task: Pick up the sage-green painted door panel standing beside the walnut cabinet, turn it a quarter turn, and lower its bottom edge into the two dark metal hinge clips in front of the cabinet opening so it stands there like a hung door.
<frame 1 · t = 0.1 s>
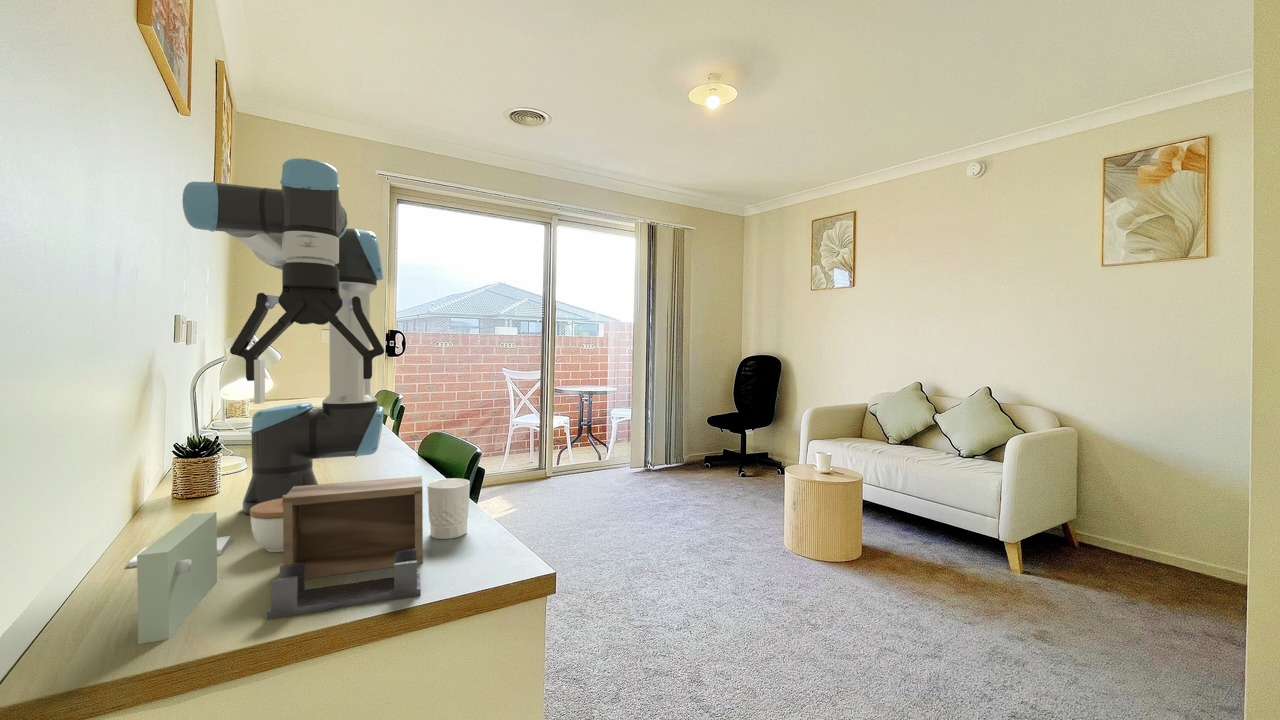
hand: (312, 401, 84), 28 cm above the table, fingers open, 13 cm apart
external hard drive: (183, 557, 96), on the table
white cup: (448, 534, 107), on the table
cabinet: (358, 563, 92), on the table
clip rail: (349, 597, 79), on the table
door panel: (182, 610, 75), on the table
lidded jar: (285, 547, 99), on the table
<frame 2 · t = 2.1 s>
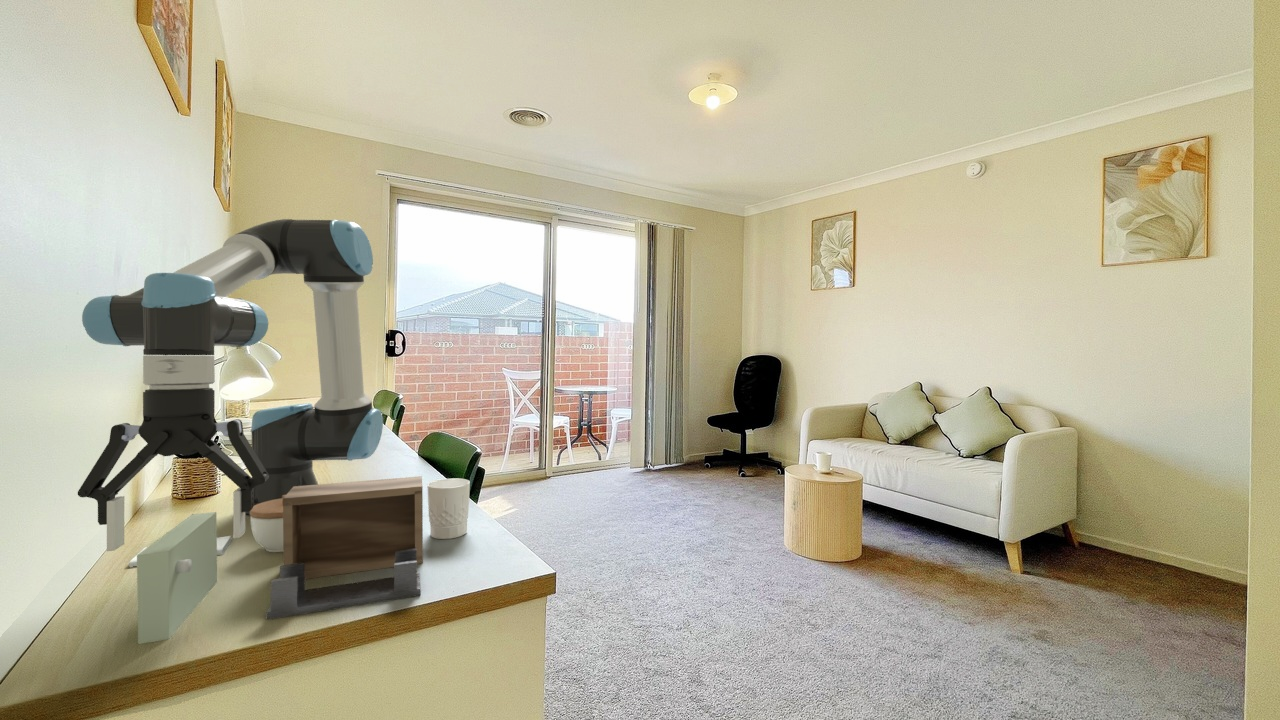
hand: (179, 541, 75), 10 cm above the table, fingers open, 13 cm apart
nothing on the table moved.
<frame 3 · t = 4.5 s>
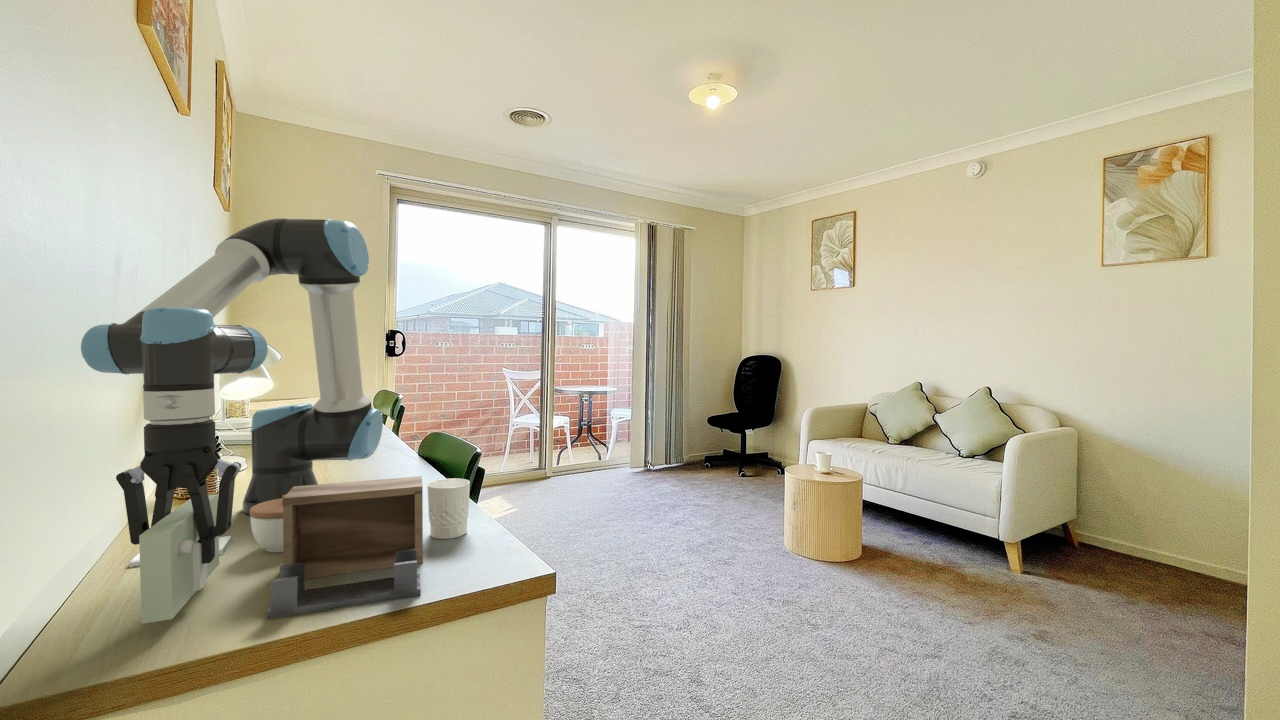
hand: (183, 588, 75), 3 cm above the table, fingers closed on door panel, 3 cm apart
door panel: (185, 590, 76), point 2 cm above the table, touching gripper
everything else where it was.
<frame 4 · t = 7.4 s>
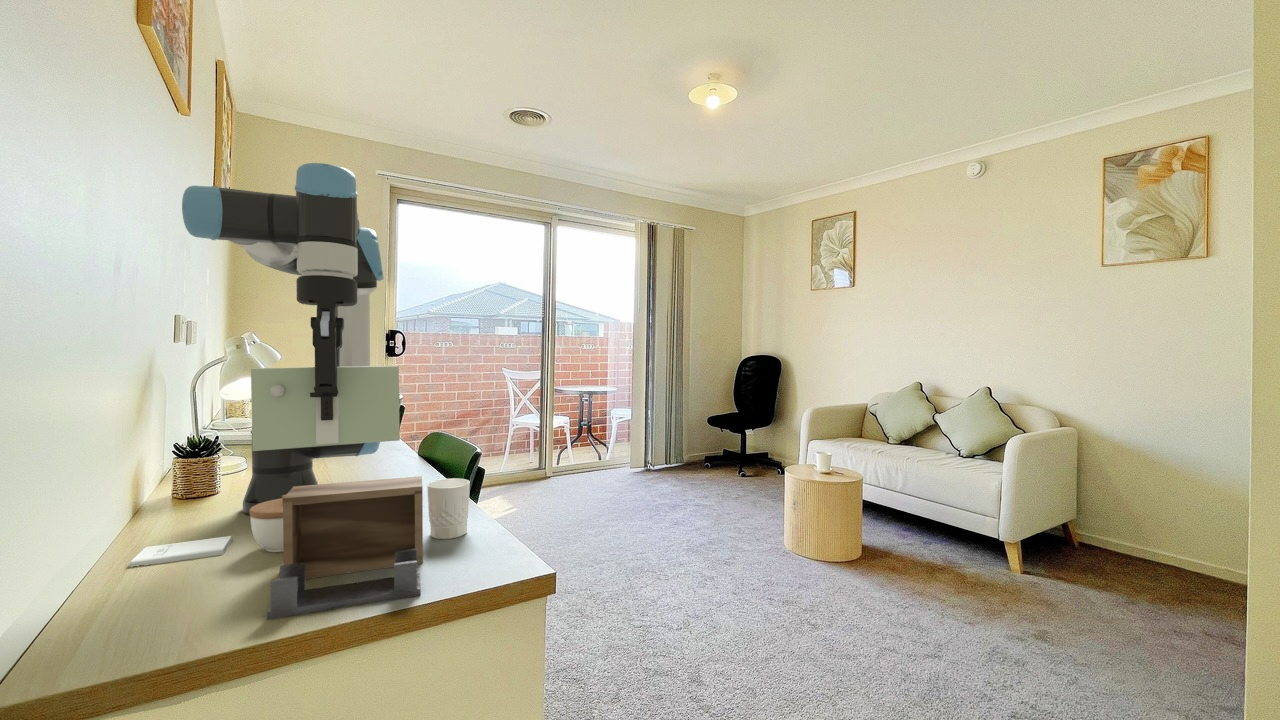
hand: (328, 441, 78), 23 cm above the table, fingers closed on door panel, 3 cm apart
door panel: (330, 443, 78), point 22 cm above the table, touching gripper
everything else where it was.
when the fingers open (2 cm above the table, at t = 10.8 s): door panel stays where it is, resting on clip rail.
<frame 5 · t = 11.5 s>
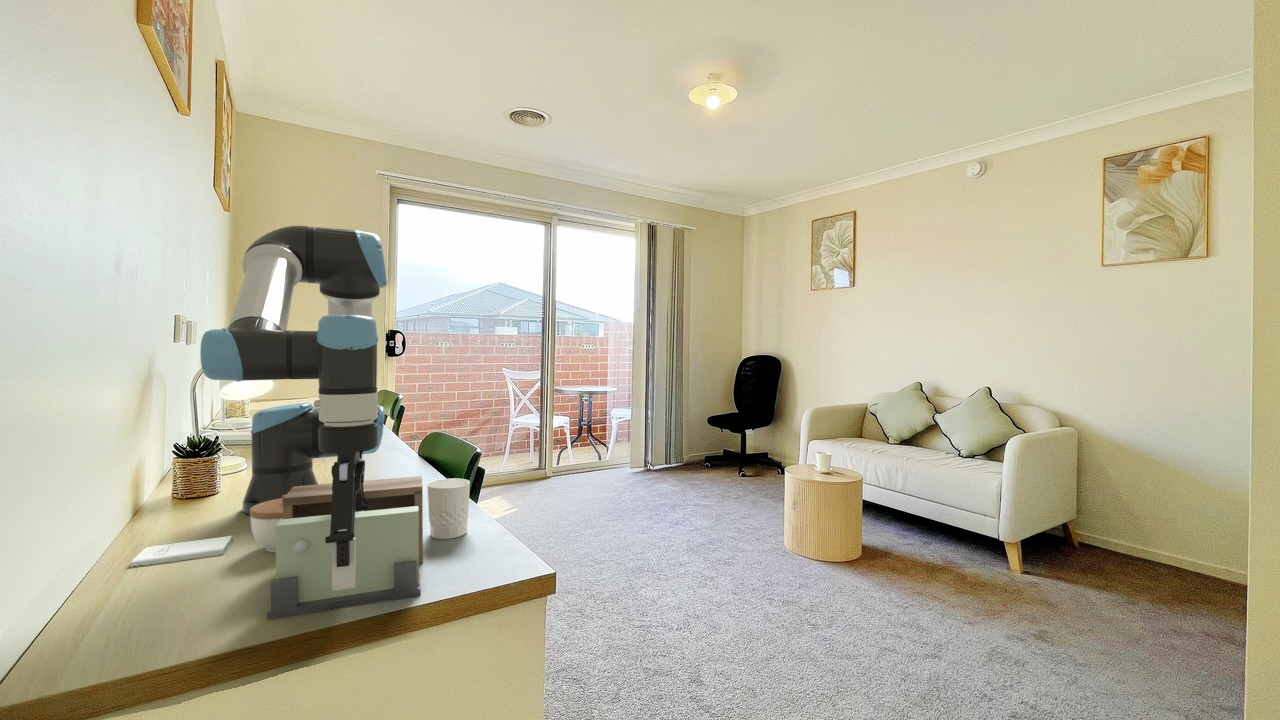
hand: (349, 569, 79), 4 cm above the table, fingers open, 13 cm apart
door panel: (351, 590, 79), point 1 cm above the table, touching clip rail
everything else where it was.
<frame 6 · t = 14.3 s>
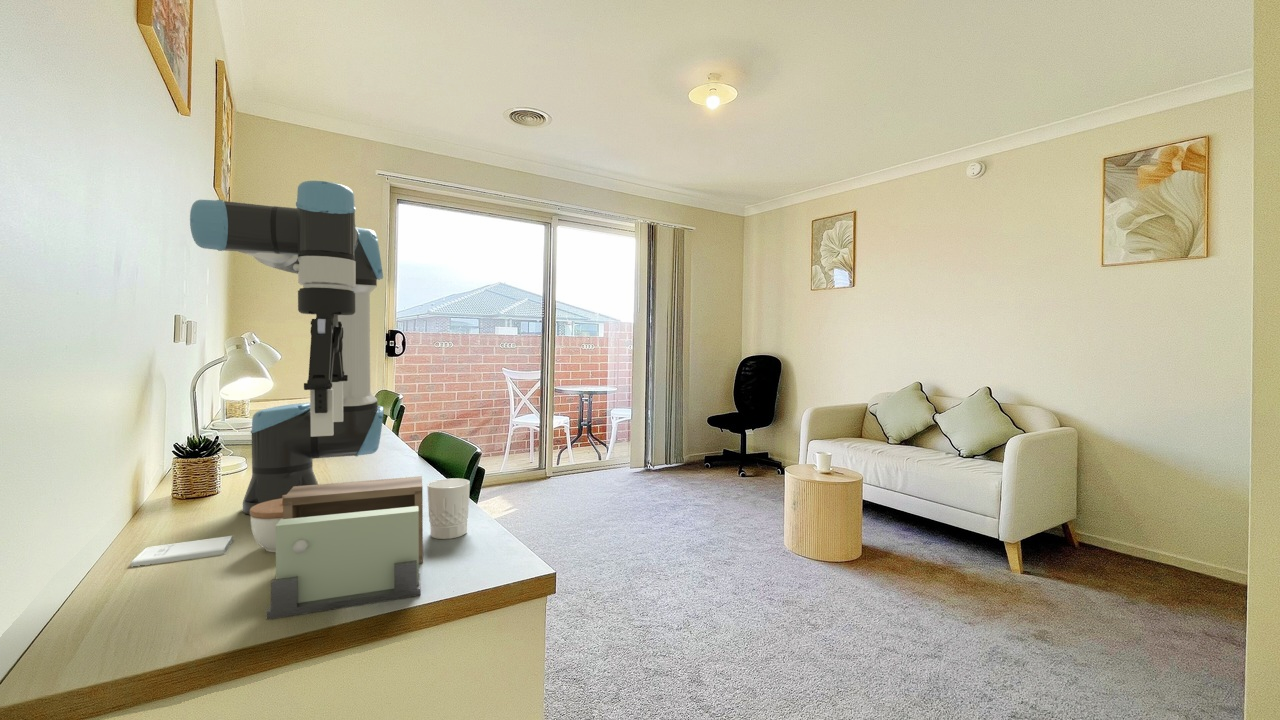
hand: (328, 428, 83), 24 cm above the table, fingers open, 13 cm apart
nothing on the table moved.
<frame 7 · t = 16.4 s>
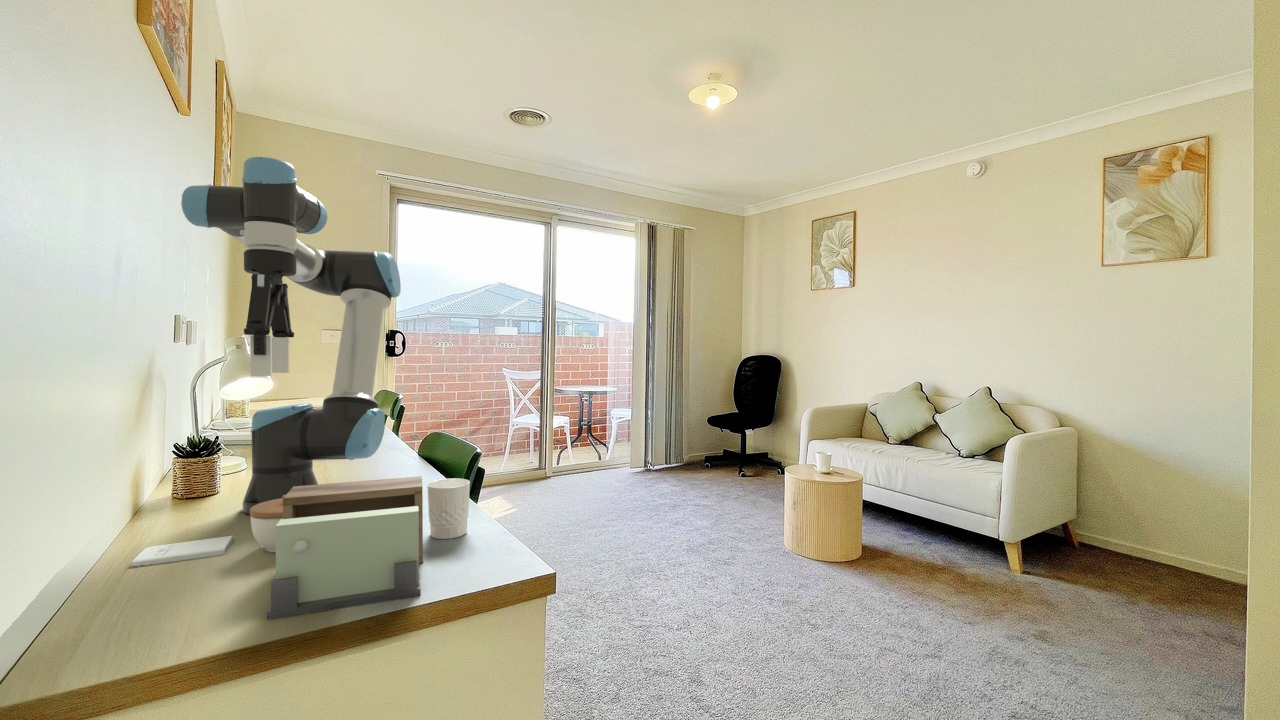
hand: (271, 374, 94), 32 cm above the table, fingers open, 13 cm apart
nothing on the table moved.
at the end: door panel 0.3 cm off-centre on the clip rail, point 1.0 cm above the clip rail's base; door panel tilted 0°; the gripper is holding nothing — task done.
